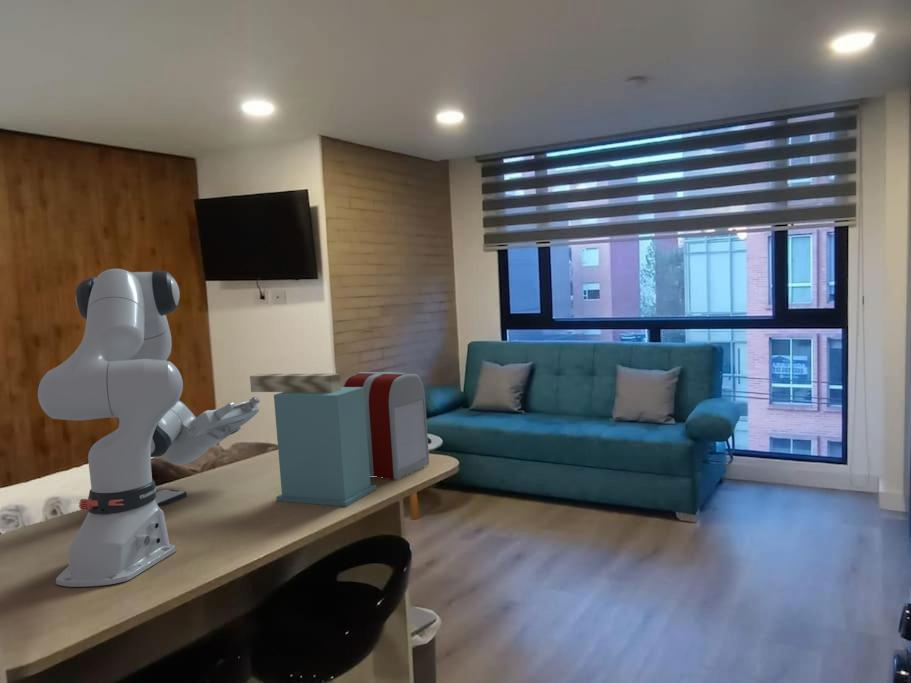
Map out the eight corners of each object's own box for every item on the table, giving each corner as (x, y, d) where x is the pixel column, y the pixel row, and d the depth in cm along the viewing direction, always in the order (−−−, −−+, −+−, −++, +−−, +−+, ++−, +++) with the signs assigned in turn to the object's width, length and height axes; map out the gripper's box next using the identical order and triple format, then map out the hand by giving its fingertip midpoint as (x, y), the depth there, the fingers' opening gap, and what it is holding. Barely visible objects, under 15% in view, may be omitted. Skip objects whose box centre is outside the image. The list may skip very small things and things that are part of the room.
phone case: (137, 518, 167) (189, 497, 182) (136, 512, 167) (189, 491, 181) (112, 515, 171) (165, 494, 186) (111, 508, 171) (164, 488, 185)
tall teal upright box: (376, 489, 178) (369, 386, 175) (346, 506, 165) (338, 396, 162) (309, 484, 185) (301, 386, 183) (276, 500, 173) (267, 395, 170)
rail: (341, 389, 173) (339, 373, 172) (332, 392, 169) (330, 375, 169) (261, 389, 182) (260, 373, 182) (251, 391, 179) (249, 376, 178)
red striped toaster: (396, 480, 185) (389, 377, 182) (344, 474, 194) (337, 376, 192) (431, 464, 199) (425, 369, 196) (381, 459, 208) (374, 368, 206)
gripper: (176, 425, 178) (210, 398, 173) (231, 410, 197) (264, 385, 192) (187, 447, 177) (223, 420, 172) (242, 430, 196) (275, 405, 191)
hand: (245, 402), depth 182 cm, fingers open, 8 cm apart
